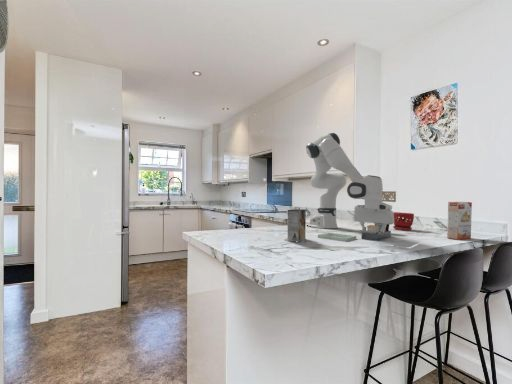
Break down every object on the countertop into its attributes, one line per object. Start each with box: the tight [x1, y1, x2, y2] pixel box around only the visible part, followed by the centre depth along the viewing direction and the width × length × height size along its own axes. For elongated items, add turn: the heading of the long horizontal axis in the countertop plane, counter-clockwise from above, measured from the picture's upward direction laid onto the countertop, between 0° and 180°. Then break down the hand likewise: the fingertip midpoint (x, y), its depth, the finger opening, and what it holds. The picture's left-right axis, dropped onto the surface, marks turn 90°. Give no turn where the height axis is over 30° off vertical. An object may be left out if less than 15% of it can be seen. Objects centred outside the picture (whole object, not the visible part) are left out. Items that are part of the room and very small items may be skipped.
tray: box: [317, 232, 357, 242], centre depth 147 cm, size 16×12×2 cm
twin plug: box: [374, 223, 386, 232], centre depth 153 cm, size 4×5×7 cm
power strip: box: [361, 230, 392, 242], centre depth 150 cm, size 8×20×4 cm, turn 135°
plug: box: [366, 224, 379, 234], centre depth 146 cm, size 4×5×7 cm
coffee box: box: [287, 208, 307, 243], centre depth 141 cm, size 9×6×16 cm
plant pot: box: [392, 211, 415, 231], centre depth 191 cm, size 13×13×12 cm
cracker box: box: [446, 201, 473, 241], centre depth 155 cm, size 14×6×21 cm, turn 117°
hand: (373, 231), depth 146 cm, fingers open, 8 cm apart
